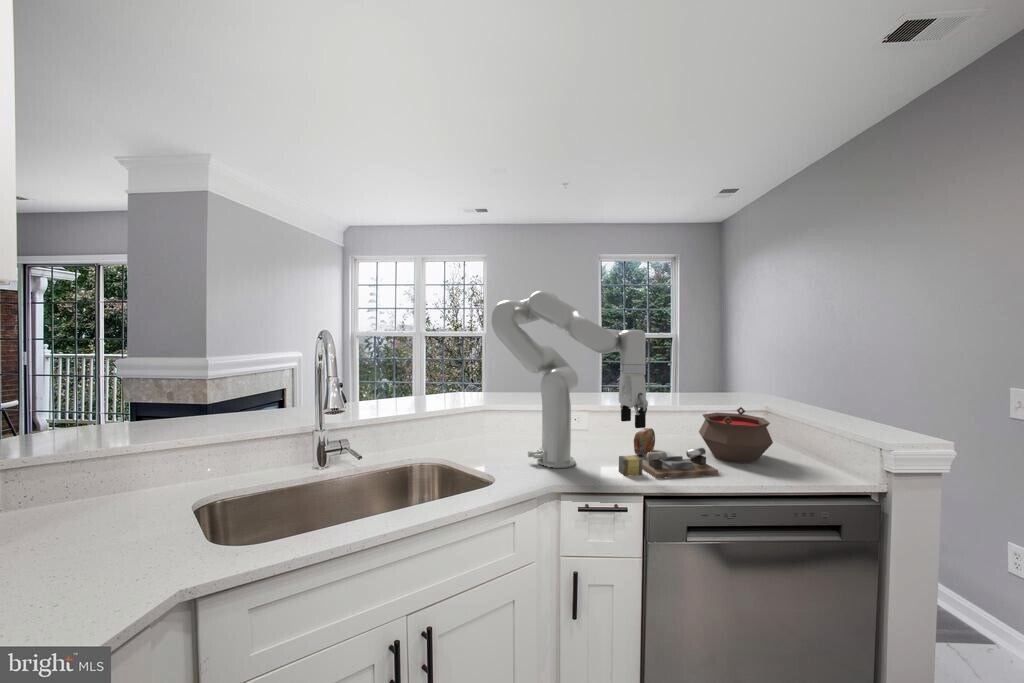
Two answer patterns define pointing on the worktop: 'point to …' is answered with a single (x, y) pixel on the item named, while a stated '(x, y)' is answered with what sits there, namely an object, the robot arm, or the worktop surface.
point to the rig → (674, 466)
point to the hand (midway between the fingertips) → (632, 424)
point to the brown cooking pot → (736, 436)
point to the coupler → (630, 465)
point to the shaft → (697, 456)
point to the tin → (644, 441)
